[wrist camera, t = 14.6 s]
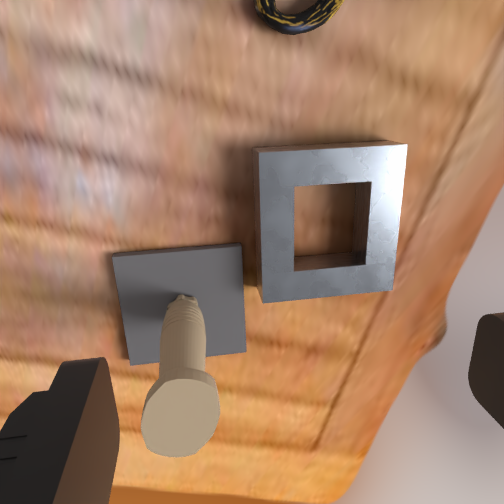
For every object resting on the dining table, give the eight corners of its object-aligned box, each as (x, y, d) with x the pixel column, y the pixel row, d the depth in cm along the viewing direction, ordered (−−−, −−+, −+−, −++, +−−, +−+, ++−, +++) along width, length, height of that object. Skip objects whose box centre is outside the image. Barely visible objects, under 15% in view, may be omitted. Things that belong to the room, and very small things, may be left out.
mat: (113, 253, 38) (111, 257, 37) (240, 242, 40) (241, 246, 39) (131, 359, 42) (130, 365, 42) (245, 346, 44) (246, 352, 43)
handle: (152, 330, 40) (133, 453, 27) (167, 273, 38) (153, 373, 25) (200, 338, 42) (204, 460, 28) (216, 283, 40) (229, 385, 26)
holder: (252, 147, 36) (258, 152, 33) (388, 140, 38) (407, 144, 35) (256, 287, 42) (262, 303, 38) (377, 275, 43) (392, 290, 40)
